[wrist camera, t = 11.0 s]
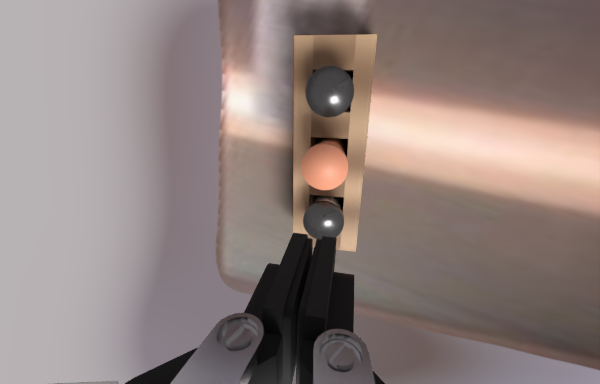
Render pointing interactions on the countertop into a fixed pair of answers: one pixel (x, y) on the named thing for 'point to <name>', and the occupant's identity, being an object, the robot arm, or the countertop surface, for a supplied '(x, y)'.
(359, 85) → the socket strip
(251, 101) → the countertop surface
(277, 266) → the robot arm
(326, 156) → the rust plug
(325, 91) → the grey plug near
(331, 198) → the grey plug far
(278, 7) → the countertop surface
